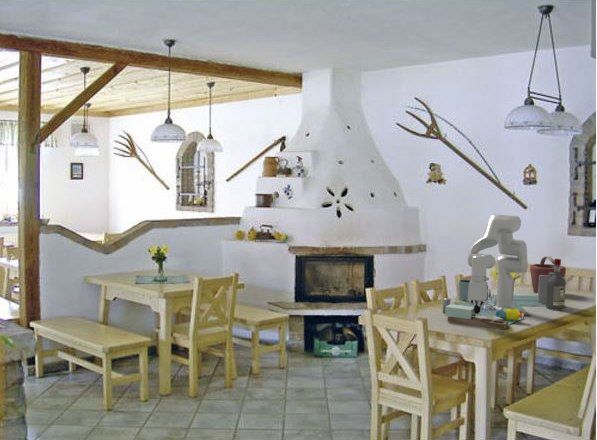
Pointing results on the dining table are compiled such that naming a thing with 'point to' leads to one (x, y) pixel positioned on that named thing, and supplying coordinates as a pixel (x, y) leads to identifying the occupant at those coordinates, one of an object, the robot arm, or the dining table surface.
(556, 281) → the liquor
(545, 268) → the bucket
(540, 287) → the hip flask
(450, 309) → the cover
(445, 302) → the pin
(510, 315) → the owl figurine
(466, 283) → the drinking glass
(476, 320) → the pin board
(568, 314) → the dining table surface
